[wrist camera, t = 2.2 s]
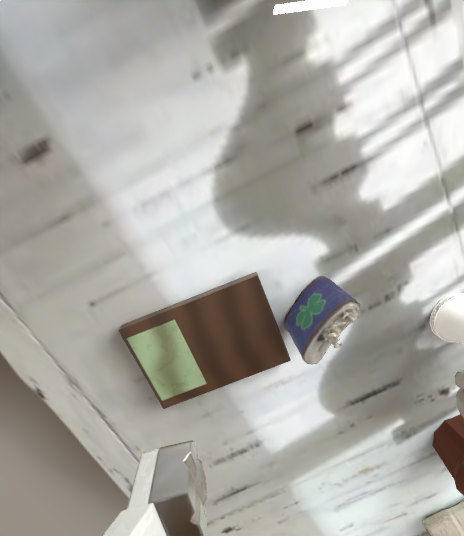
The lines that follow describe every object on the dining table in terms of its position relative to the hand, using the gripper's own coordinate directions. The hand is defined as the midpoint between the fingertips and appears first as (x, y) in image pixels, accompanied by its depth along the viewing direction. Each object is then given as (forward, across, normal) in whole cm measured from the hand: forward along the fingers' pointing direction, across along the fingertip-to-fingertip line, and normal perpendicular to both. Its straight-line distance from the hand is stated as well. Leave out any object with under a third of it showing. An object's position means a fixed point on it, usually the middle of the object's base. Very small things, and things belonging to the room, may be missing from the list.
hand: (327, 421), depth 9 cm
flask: (+31, -8, +11) cm, 34 cm away
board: (+31, +7, +13) cm, 34 cm away
